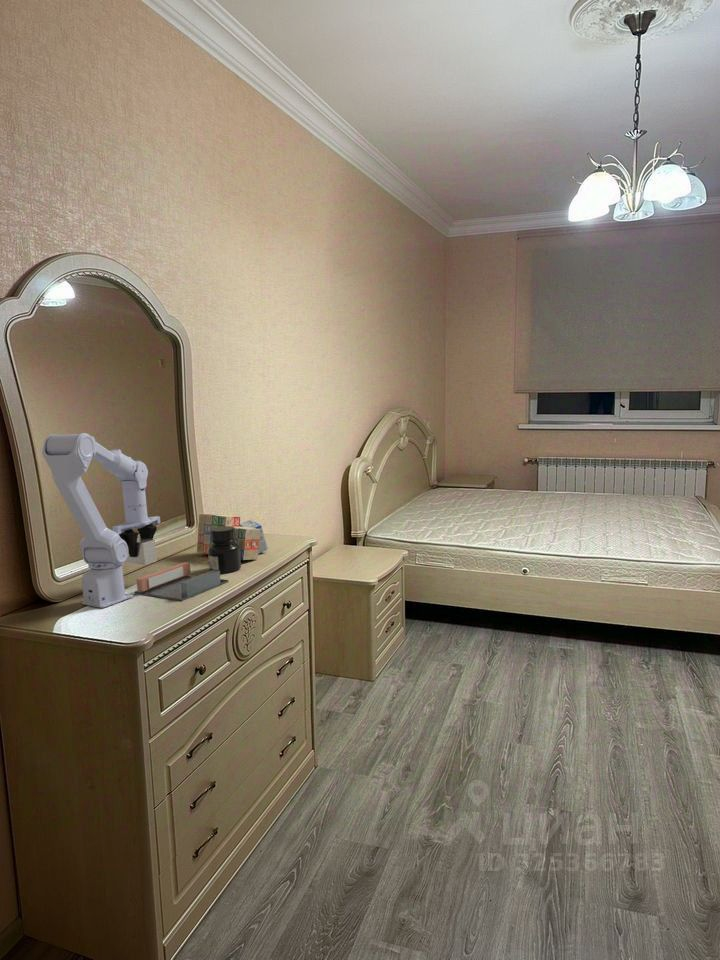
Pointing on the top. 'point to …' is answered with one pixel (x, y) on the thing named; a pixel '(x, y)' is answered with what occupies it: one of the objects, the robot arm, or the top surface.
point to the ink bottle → (224, 550)
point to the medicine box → (262, 540)
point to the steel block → (144, 552)
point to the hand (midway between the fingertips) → (140, 554)
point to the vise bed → (172, 589)
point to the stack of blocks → (243, 535)
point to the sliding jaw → (163, 576)
